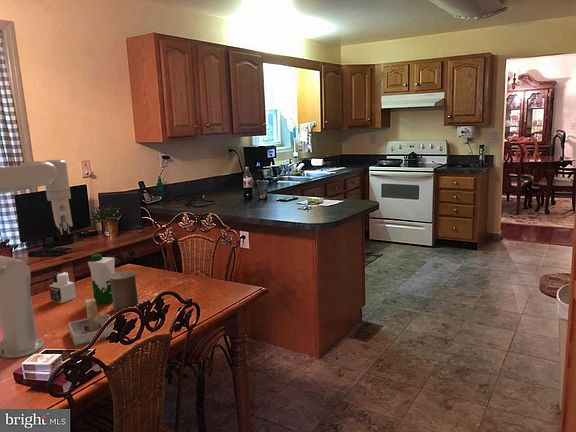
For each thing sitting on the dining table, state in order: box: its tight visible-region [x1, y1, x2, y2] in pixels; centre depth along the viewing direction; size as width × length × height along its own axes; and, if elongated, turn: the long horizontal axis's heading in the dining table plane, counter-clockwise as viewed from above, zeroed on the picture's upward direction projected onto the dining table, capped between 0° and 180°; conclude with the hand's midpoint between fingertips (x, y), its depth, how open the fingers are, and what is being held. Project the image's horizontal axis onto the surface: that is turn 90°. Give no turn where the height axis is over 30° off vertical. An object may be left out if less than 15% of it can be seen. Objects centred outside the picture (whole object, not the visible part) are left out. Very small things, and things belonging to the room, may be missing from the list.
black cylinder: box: [84, 297, 99, 331], centre depth 163 cm, size 3×3×12 cm
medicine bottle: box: [48, 271, 77, 304], centre depth 198 cm, size 7×7×12 cm
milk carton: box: [87, 253, 116, 305], centre depth 194 cm, size 9×9×20 cm
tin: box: [67, 313, 115, 348], centre depth 164 cm, size 14×14×4 cm
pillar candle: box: [110, 271, 139, 312], centre depth 187 cm, size 10×10×15 cm
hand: (65, 242), depth 165 cm, fingers open, 9 cm apart
